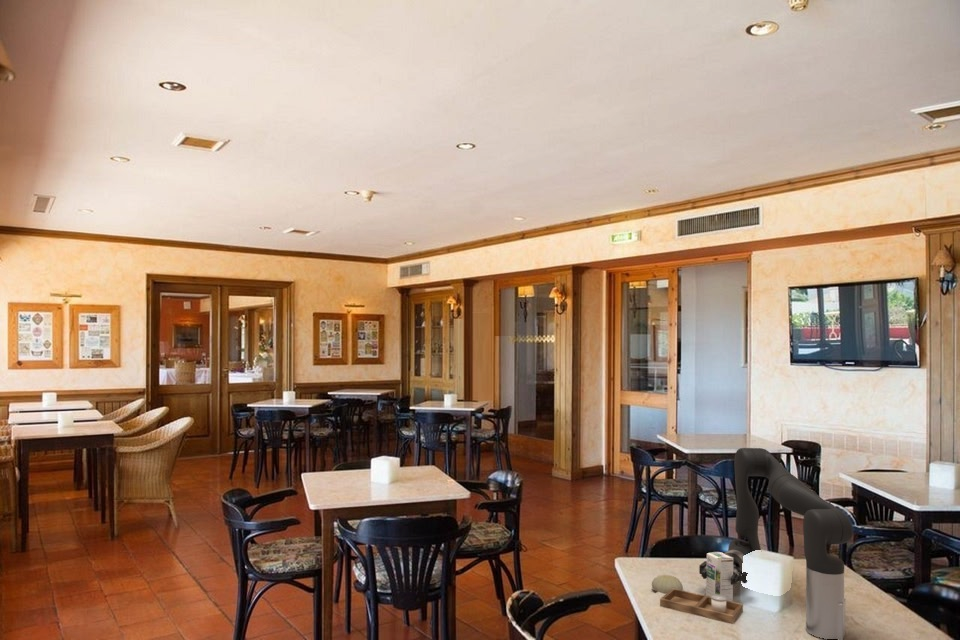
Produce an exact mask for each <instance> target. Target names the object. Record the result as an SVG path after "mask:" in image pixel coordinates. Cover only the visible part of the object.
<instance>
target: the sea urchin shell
mask: <svg viewBox="0 0 960 640" xmlns="http://www.w3.org/2000/svg"><path fill="white" fill-rule="evenodd" d="M672 588H674V589H678V590H683V591H684V586H683V584H682V581H681V580H680V579H679V578H677V577H676V576H673V575H669V574H661V575H657V576H656V577H655V578H653V579H652V582H651V589H653V591H655V592H656V593H658V592H659V593H662V594H667V593H668V592H669V591H670V590H671V589H672Z"/></svg>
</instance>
